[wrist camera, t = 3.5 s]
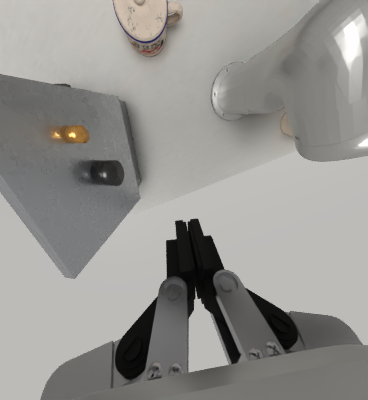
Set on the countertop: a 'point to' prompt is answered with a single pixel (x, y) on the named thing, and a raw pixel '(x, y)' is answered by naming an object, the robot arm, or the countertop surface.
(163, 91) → the countertop surface
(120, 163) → the cooker lid
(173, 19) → the teacup with lid
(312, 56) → the robot arm
